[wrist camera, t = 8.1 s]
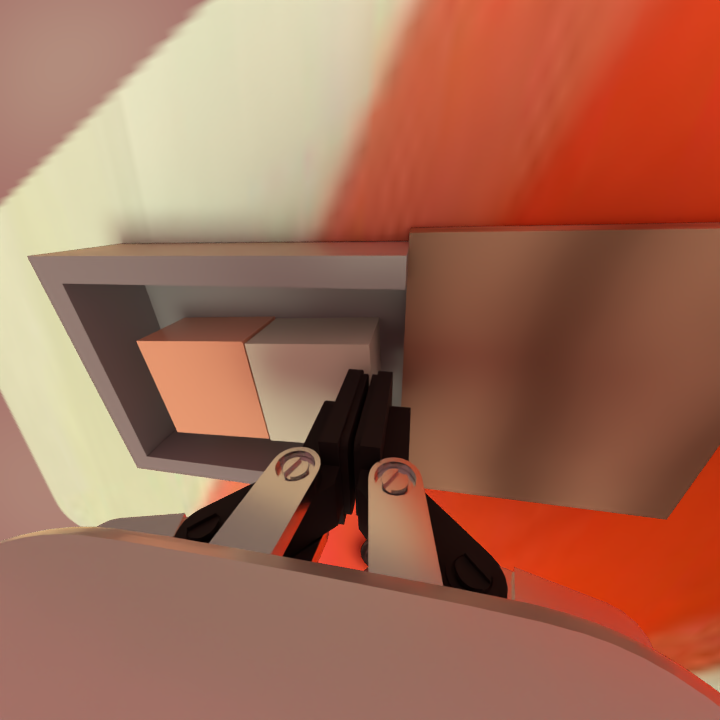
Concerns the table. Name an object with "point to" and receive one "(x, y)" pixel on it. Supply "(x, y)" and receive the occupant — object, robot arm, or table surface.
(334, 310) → the box
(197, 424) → the salmon orange block
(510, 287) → the board
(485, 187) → the table surface
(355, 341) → the cream white block
